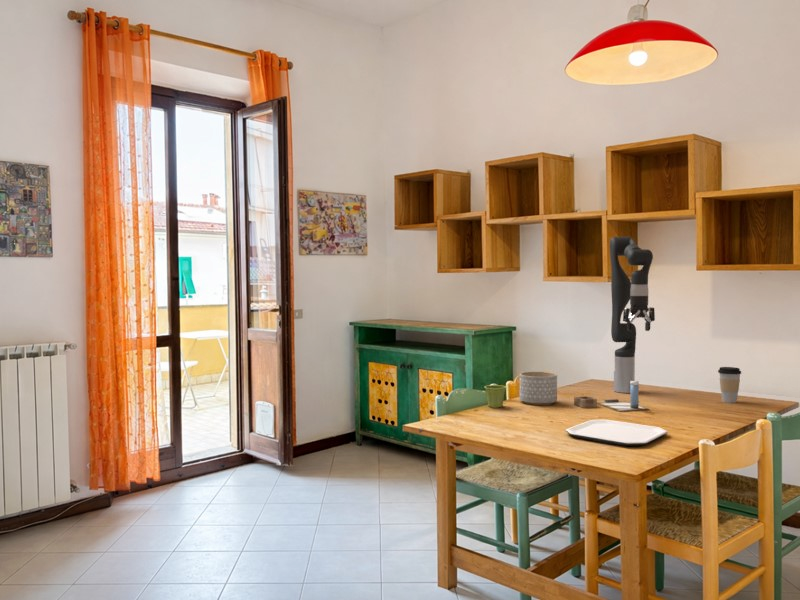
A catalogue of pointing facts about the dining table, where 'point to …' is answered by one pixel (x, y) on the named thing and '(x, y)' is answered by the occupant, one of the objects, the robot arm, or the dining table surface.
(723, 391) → the coffee cup
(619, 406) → the clipboard
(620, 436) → the plate
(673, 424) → the dining table surface
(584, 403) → the pen block
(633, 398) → the marker
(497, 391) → the plant pot
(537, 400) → the planter
